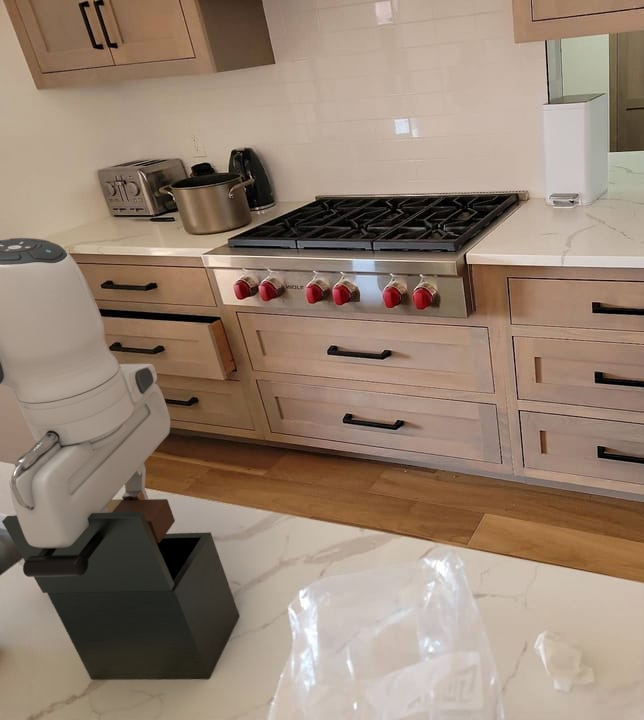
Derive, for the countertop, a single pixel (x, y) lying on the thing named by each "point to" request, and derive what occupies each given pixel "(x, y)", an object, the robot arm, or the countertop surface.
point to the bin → (156, 618)
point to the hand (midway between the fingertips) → (126, 520)
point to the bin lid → (98, 557)
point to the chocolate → (148, 513)
